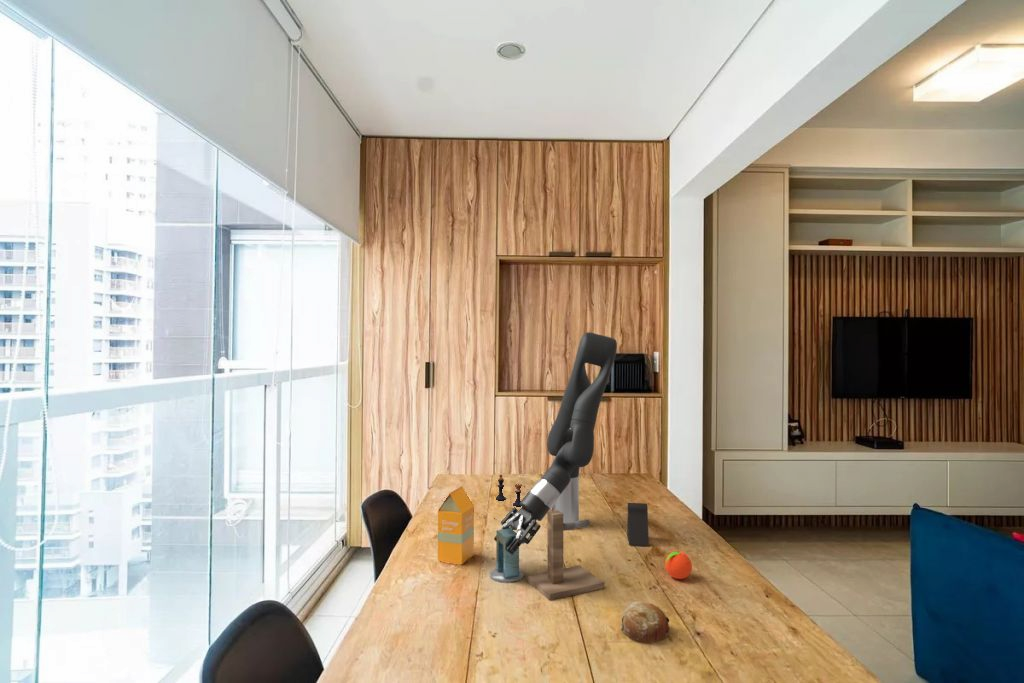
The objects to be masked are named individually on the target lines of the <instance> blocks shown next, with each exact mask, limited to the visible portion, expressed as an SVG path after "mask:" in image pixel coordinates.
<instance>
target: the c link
mask: <svg viewBox="0 0 1024 683" xmlns="http://www.w3.org/2000/svg"><path fill="white" fill-rule="evenodd" d="M495 536H496V541H495V542H496V548H495V549H496V553H495V556H496V559H495V560H496V568H495V569H496V571H497V572H503V571H504V578H505V579H509V578H514V577H519V569H520V547H519V548H518V549H517V550H516V551H515V553H514V554H513V555H512V554H510V553H509V552H508V551H507V547H508V546H509V545H510V544H511V542H512V541H513V540H514V538H516V536H517V531H515V530H512V529H510V527H509V528H508V529H502V528H501V529H496V535H495ZM516 539H517V538H516Z"/></svg>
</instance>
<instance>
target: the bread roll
mask: <svg viewBox="0 0 1024 683" xmlns="http://www.w3.org/2000/svg"><path fill="white" fill-rule="evenodd" d="M669 623H670V619H669V617H668V616H667V615H666V613H665V612H664V611H663V610H662V609H661V608H660V607H659V606H657V605H656V604H653V603H649V602H645V601H641V600H635V601H632V602H630V603H629V604H628V605H627V607H625V609H624V611H623V612H622V618H621V625H620V630H621V631H623V633H624V634H625V635H626V636H627V637H628V638H629V639H631V640H632V641H634V642H638V643H642V644H643V643H644V644H652V643H656V642H660V641H661V642H662V641H663V640H664V639H665V638H666V637H668V635H669V633H670V626H669Z"/></svg>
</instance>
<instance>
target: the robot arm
mask: <svg viewBox="0 0 1024 683" xmlns="http://www.w3.org/2000/svg"><path fill="white" fill-rule="evenodd" d="M617 344H618V343H617V340H616V339H615V338H613V337H610V336H608V335H607V336H606V335H603V334H598V333H594V332H590V331H589V332H588V331H587V332H585V333H583V335H582V336H581V338H580V341H579V343H578V347H577V351H576V354H575V357H574V363H573V366H572V370H571V373H570V376H569V380H568V382H567V383H566V384H567V385H566V387H565V390H564V393H563V396H562V399H561V404H560V406H559V410H558V413H557V415H556V417H555V420H554V422H553V425H552V426H551V428H550V431H549V433H548V435H547V442H546V446H547V447H546V448H547V452H548V453H549V454H550V455H551V456H552V457H554V459H553V461H552V463H551V465H550V466H549V468H548V469H547V470H546V471H545V472H544V474H543V475H542V476H541V478H540V479H539V480H538V481H536V483H535V484H534V485H533V486H532V487H531V490H530V491H529V492H528V493H527V495H526V496H525V497H524V498H523V500H522V501H521V502H520V505H521V506H522V508H521V509H520V510H519V511H518V510H517V509H516V508H515V507H514V508H512V510H511V511H510V512H509V513H508V514H507V515H506V517H505V518H504V519H503V520H502V521H501V522H500V525H501V529H508V528H510V529H512V530H513V531H516V533H517V536H516V538H517V539H516V538H514V540H513V541H512V542H511V544H510V545H509V546H508V547H507V551H508V552H509V553H510V554H512V555H513V554H514V553H515V551H516V550H517V549H518V548H519V549H520V546H521V545H524V544H526V545H529V544H530V543H531V541H532V540H533V539H534V537H535V535H536V534H537V533H538V531H539V530H540V529H541V525H540V523H538V522H541V521H542V520H543V519H544V518H545V516H546V515H547V512H549V510H550V509H551V508H552V510H550V511H556V510H558V511H560V512H562V513H563V523H568V522H574V521H580V502H579V501H580V483H579V482H580V481H579V480H580V478H579V477H580V469H581V468H585V467H587V465H589V464H590V462H591V461H592V459H593V455H594V448H595V446H594V445H595V435H594V434H595V433H594V431H595V427H596V426H595V425H596V423H597V418H598V413H599V409H600V405H601V401H602V398H603V395H604V393H605V391H606V387H607V384H608V381H609V378H610V374H611V371H612V368H613V366H614V363H615V360H616V359H615V358H616V355H617V350H618V348H617V347H618V345H617ZM586 364H590V365H594V366H597V367H600V369H599V371H598V374H597V376H596V377H595V379H594V380H593V381H592V383H591V381H590V378H589V376H588V373H587V371H586ZM507 520H508V522H506V521H507ZM493 540H494V541H495V542H496V535H494V538H493Z"/></svg>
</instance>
